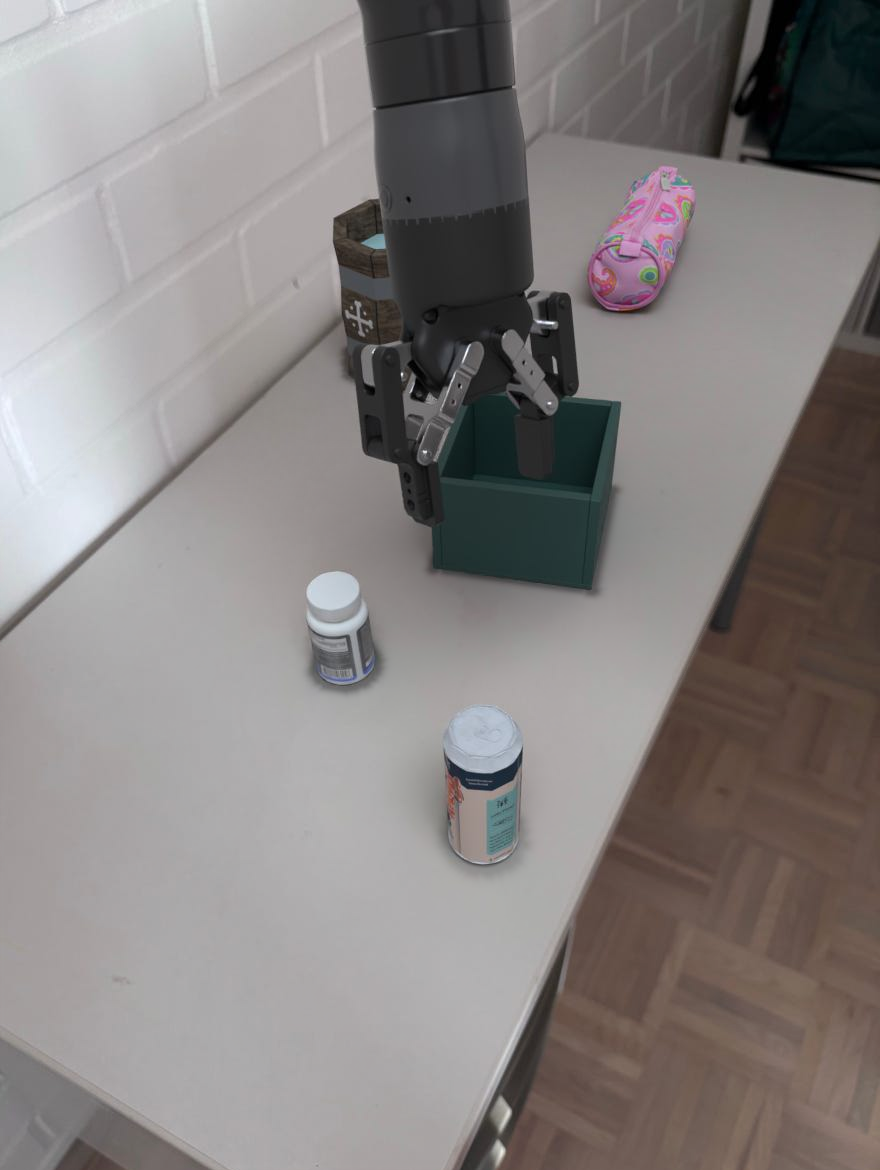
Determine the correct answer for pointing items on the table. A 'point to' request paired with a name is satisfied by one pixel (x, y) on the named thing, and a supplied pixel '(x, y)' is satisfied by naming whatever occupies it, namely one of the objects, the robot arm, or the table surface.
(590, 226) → the table surface
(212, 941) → the table surface
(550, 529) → the bin
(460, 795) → the beer can
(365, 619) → the pill bottle
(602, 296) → the pencil case
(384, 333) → the mug
